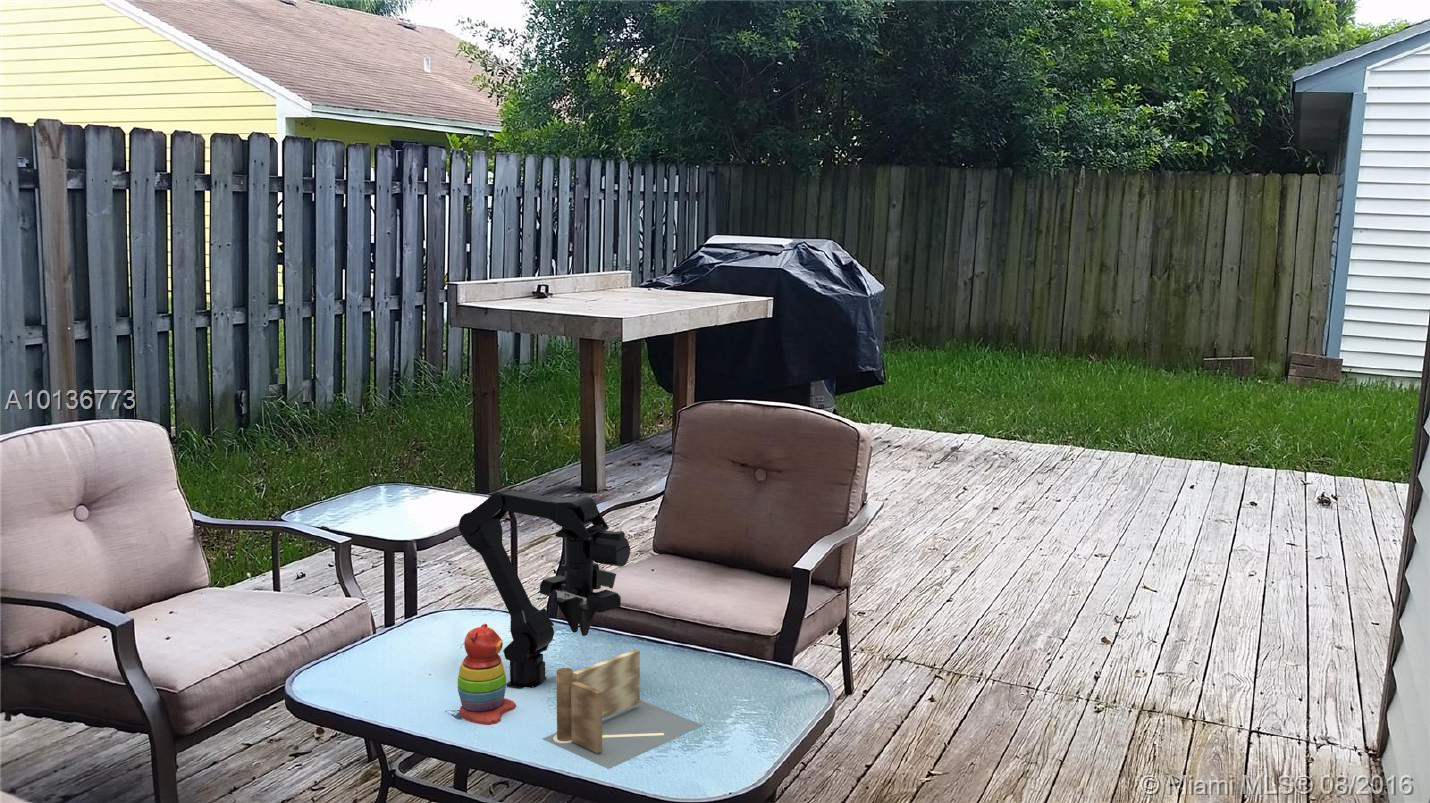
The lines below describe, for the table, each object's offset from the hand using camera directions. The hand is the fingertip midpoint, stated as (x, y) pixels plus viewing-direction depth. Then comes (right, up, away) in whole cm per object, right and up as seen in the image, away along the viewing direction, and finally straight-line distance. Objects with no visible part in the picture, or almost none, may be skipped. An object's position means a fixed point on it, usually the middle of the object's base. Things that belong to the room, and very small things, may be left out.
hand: (580, 633), depth 238 cm
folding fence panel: (+7, -13, -12) cm, 19 cm away
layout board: (+10, -16, -17) cm, 25 cm away
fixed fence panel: (+3, -16, -23) cm, 28 cm away
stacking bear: (-18, -14, -8) cm, 24 cm away
